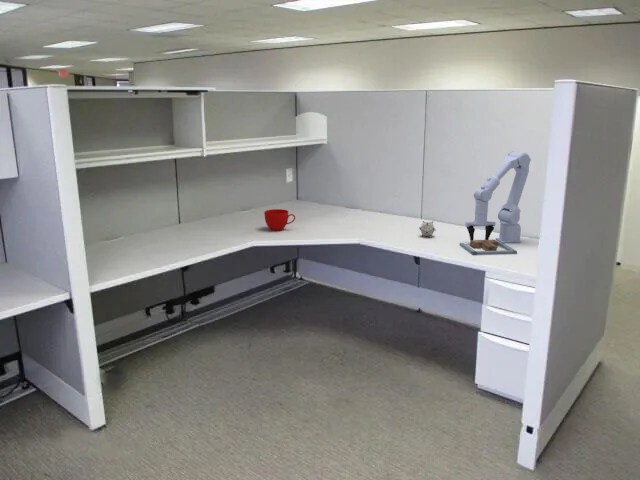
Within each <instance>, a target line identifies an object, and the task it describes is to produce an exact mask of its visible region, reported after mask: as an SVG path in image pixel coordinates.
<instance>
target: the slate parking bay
mask: <svg viewBox="0 0 640 480" xmlns="http://www.w3.org/2000/svg"><path fill="white" fill-rule="evenodd" d="M459 246H460V247H461V248H462V249H464V250H465V251H467V252H468V253H469V254H471V255H472V256H482V255H483V256H487V255H490V256H491V255H513V254H514V255H517V254H518V250H516V249H515V248H513V247H511V246H509V245H507V243H502V242H500V241H498V246H499V247H501V248H502V249H504V250H497V251H485V250H475V249H474V248H472V247H470V245H467V244H466V243H464V242H459Z"/></svg>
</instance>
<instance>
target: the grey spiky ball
mask: <svg viewBox="0 0 640 480" xmlns="http://www.w3.org/2000/svg"><path fill="white" fill-rule="evenodd" d="M433 223H434V221H431V222H428V221H424V220H422V224H421V226H419V227H418V228H419V230H420V232H421V237H423V236H424V237H425V236H426V237H431V238H433V235H434V232H435V231H437V230H436V228H435V227H434V224H433Z"/></svg>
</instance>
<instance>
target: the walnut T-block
mask: <svg viewBox="0 0 640 480" xmlns="http://www.w3.org/2000/svg"><path fill="white" fill-rule="evenodd" d="M498 242H499V240H497V239H489V240H485V239H473V240H471V241H470V244H469V247H470V248H472V249H482V251H498V250H497V249H498V246H499V245H498Z"/></svg>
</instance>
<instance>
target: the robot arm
mask: <svg viewBox="0 0 640 480" xmlns="http://www.w3.org/2000/svg"><path fill="white" fill-rule="evenodd" d="M531 161H532V159H531V157H530V155H529V154H528V153H527V152H519V151H517V152H516V151H509V153H508V154H507V155H506V156H505V157H504V162H503V163H502V164H501V166H500V167H499V168H498V169H497V171H496V173H495V174H494V175H493V176H492V175H491V176H489V177H488V178H487V179H486V181H485V182H484V183H483V184H482V185H481V186H480V188H477V189H476V190H475V191H474V193H473V198H474V199H475V210H474V211H475V212H474V221H467V222H465V224H464V225H465V227H466V229H467V232H468V235H469V240H470V241H471V240H475V239H474V235H475V231H476V229H475V228H474V227H484V228H485V237H484V240H490V236H491V234H492V232H493V231H494V229H495V227H496V222H495V221H488V212H489V211H488V209H489V201H490V200H491V199H492V197H493V196H492V195H493V194H494V192H495V190H496V189H497V188H498V187H499V185H500V184H501V180H502V179H503V177H504V176H505V175H506V174H507V173H509V171H510V170H511V169H514V170H515V175H514V178H513V182H512V184H511V185H512V186H511V188H510V191H509V194H508V197H507V200H506V203H504V204H502V205H501V209H500V210H499V211H498V213H497V218H498V220H499V223H500V224H499V226H500V228H499V237H496V238H495V240H496V241H498V242H502V243H504V244H510V243H513V244H514V243H521V231H522V227H521V225H520V223H519V221H520V219H521V218H520V215H521V214H520V213H521V209H520V208H519V203H520V202H521V201H520V200H521V197H522V195H523V191H524V188H525V185H526V182H527V178H528V175H529V173H530V163H531Z"/></svg>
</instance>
